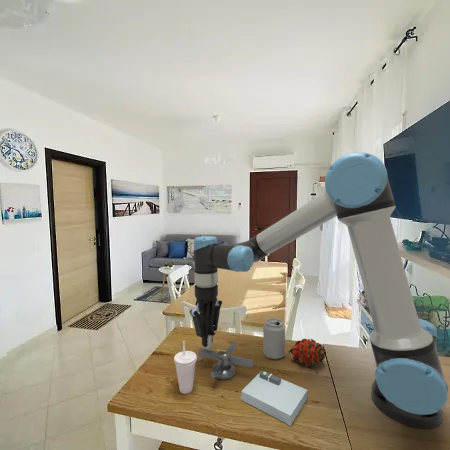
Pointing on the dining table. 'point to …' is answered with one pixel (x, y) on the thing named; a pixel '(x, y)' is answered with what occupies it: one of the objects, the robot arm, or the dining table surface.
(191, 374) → the smoothie
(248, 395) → the pale grey switch box
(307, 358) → the dragon fruit
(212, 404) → the dining table surface
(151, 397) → the dining table surface
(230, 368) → the capstan
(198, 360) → the tick mark
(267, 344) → the can
